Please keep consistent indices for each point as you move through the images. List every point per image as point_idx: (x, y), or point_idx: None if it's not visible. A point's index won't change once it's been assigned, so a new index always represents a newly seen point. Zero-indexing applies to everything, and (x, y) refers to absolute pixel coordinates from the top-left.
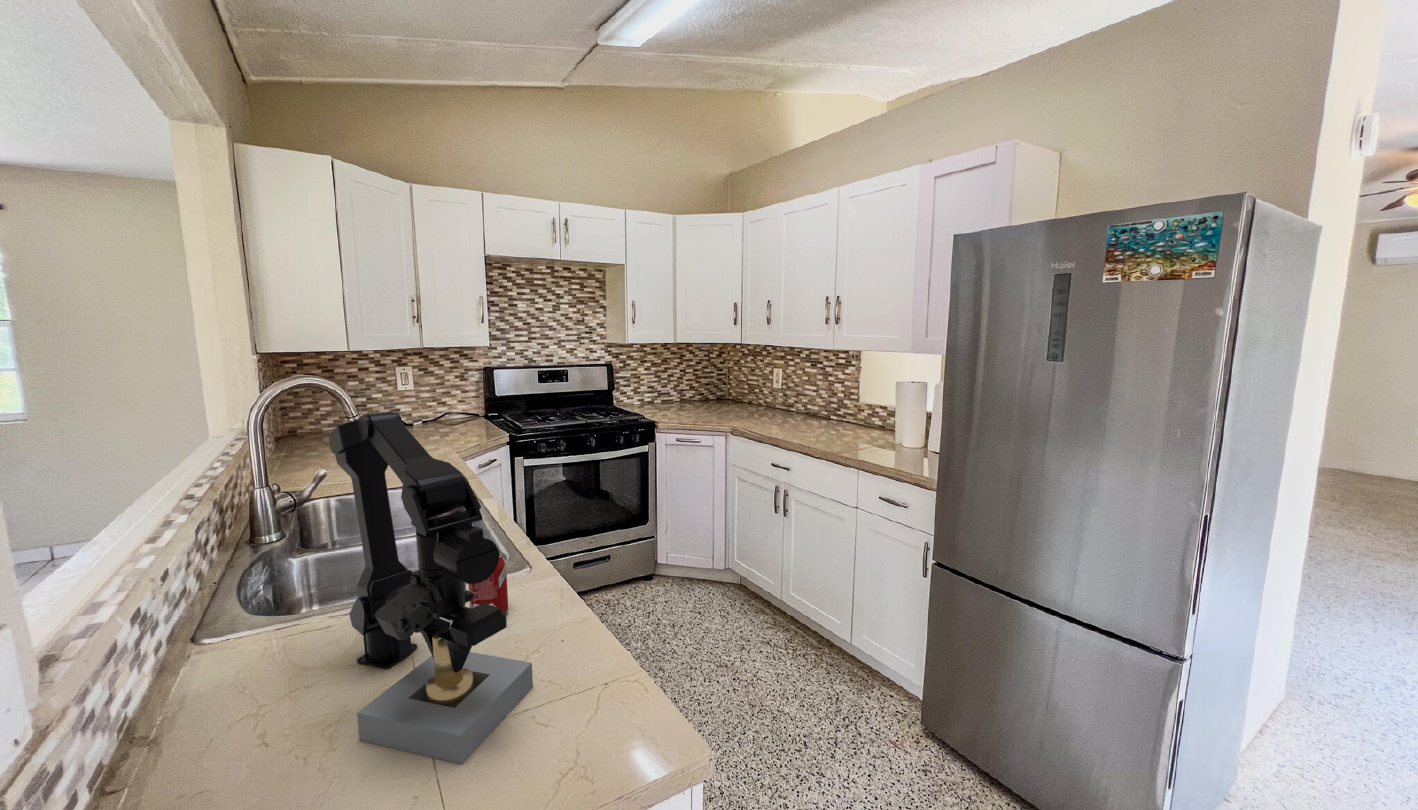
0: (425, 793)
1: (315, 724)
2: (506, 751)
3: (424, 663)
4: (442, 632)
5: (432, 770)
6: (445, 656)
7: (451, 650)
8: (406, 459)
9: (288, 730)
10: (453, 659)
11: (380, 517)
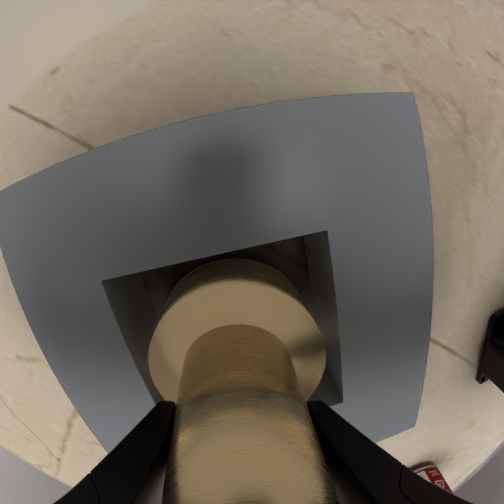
0: (44, 88)
1: (485, 122)
2: (7, 269)
3: (418, 371)
4: None
5: (80, 133)
6: (181, 460)
7: (96, 501)
8: None
9: (500, 95)
10: (120, 453)
11: None
